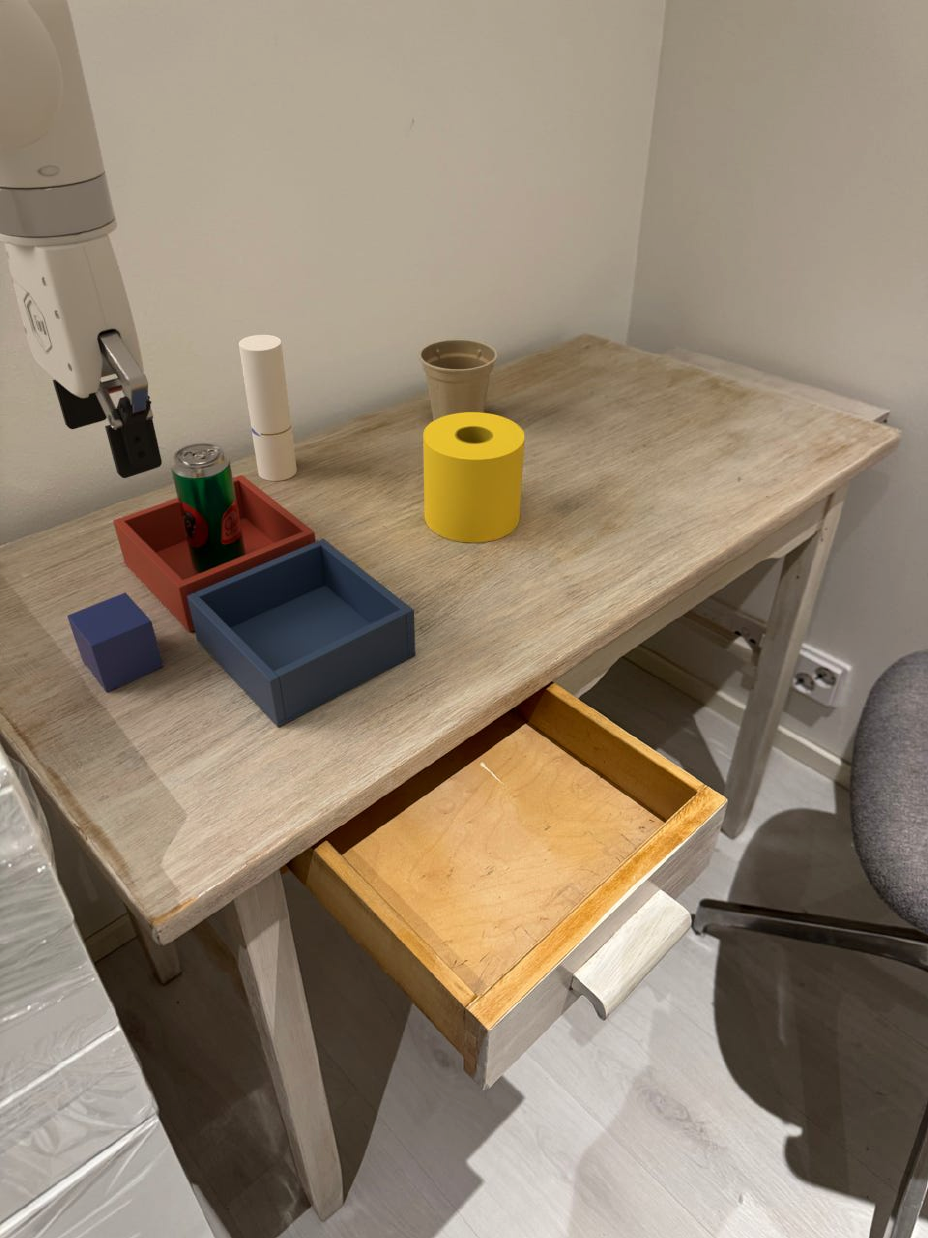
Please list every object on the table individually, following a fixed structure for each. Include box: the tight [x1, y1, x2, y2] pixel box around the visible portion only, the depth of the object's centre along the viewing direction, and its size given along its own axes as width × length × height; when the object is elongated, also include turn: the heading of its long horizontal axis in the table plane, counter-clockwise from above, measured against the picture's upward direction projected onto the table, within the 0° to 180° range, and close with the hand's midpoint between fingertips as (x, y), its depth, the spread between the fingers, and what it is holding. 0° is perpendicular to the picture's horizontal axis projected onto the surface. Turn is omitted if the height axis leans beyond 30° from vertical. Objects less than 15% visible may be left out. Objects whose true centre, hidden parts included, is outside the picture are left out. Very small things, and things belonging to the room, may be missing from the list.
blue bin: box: [187, 538, 416, 728], centre depth 76 cm, size 14×14×5 cm
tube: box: [238, 334, 298, 482], centre depth 96 cm, size 4×4×15 cm
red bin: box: [112, 474, 317, 633], centre depth 85 cm, size 14×14×5 cm
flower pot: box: [418, 338, 499, 421], centre depth 109 cm, size 9×9×9 cm
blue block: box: [67, 592, 164, 693], centre depth 74 cm, size 5×5×5 cm
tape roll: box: [422, 412, 525, 544], centre depth 91 cm, size 10×10×9 cm
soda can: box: [170, 442, 246, 573], centre depth 82 cm, size 5×5×12 cm
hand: (113, 446), depth 68 cm, fingers open, 9 cm apart
